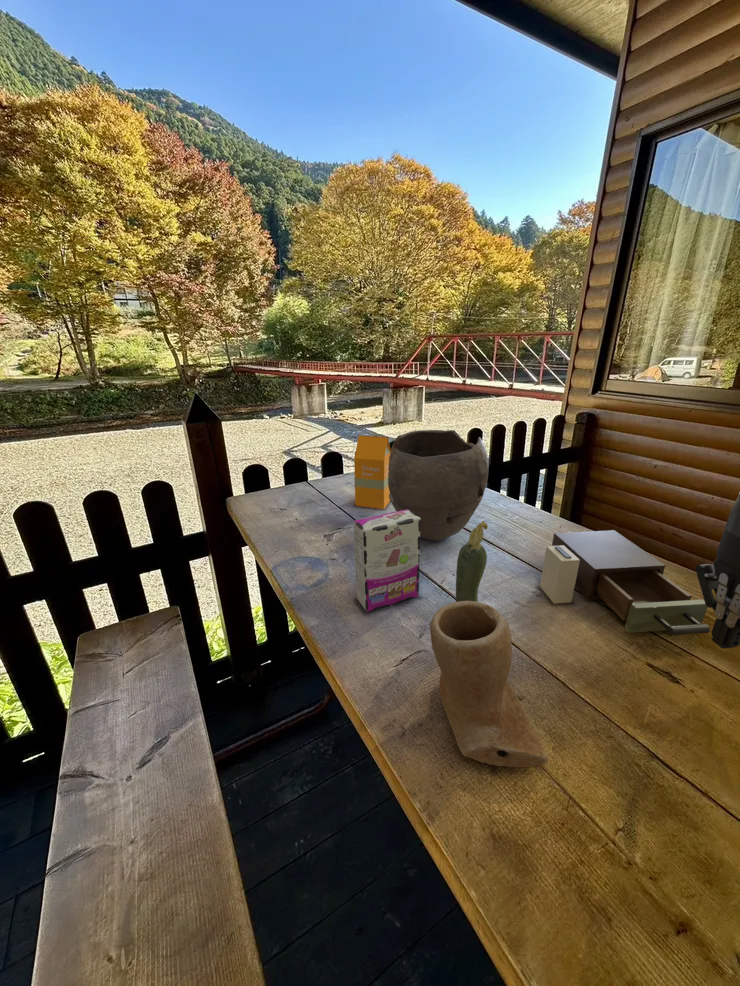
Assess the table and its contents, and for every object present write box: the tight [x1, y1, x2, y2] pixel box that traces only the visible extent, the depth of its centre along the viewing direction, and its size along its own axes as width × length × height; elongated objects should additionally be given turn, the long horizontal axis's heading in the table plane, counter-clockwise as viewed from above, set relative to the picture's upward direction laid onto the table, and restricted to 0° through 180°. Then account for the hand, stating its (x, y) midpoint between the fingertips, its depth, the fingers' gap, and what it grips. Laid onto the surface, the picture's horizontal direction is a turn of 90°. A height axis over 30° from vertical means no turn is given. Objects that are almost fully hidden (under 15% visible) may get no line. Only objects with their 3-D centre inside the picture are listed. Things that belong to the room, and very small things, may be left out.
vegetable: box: [455, 520, 489, 602], centre depth 65 cm, size 4×4×20 cm
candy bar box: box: [353, 509, 421, 613], centre depth 74 cm, size 11×5×16 cm, turn 115°
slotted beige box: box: [539, 545, 580, 604], centre depth 76 cm, size 3×6×9 cm, turn 5°
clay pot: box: [388, 429, 490, 542], centre depth 96 cm, size 24×24×25 cm
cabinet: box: [551, 529, 666, 601], centre depth 82 cm, size 15×14×7 cm
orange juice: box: [353, 434, 391, 510], centre depth 117 cm, size 8×9×20 cm
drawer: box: [594, 570, 711, 636], centre depth 70 cm, size 18×12×5 cm
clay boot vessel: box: [429, 601, 549, 769], centre depth 50 cm, size 15×12×15 cm
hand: (722, 644), depth 57 cm, fingers closed
